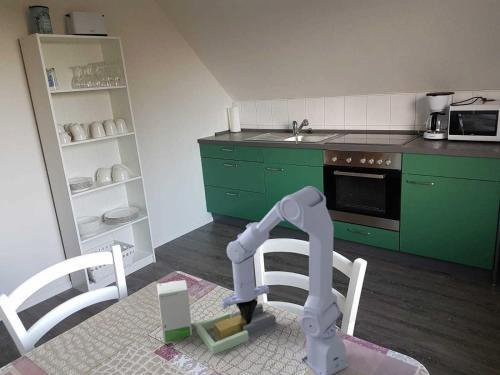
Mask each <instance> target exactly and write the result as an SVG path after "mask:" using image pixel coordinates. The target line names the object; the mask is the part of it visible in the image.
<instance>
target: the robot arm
mask: <svg viewBox="0 0 500 375" xmlns="http://www.w3.org/2000/svg"><path fill="white" fill-rule="evenodd" d="M326 205H327V198H326V196H325V195H324V194H323V193H322V192H321V191H320V190H319V189H318V188H316V187H315V186H311V185H309V186H305V187H303V188H302V189H300V190H297V191H296V192H294V193H292V194H287V195H285V196H284V197H282V199H281V200H279V201H277V202H276V204H274V206H273V207H272V208H271V209H270V211H268V213H266V215H265V216H264V217H263V218H262V219H261V220H260V221H259V222H257V221H256V222H250V223H248V224H247V225H246V226H245V228H246V229H245V230H244V231H243V232H242V233H241V232H240V233H239V234H238V235H237V236H236V237H237V238H236V239H235V240H234V241H230V242H229V243H228V244H227V247H226V254H227V257H228V259H229V260H230V261H231V264H232V265H231V266H232V276H233V277H232V278H233V286H234V287H233V288H234V292H233V293H231V294H229V295H228V296H226V297H224V298H222V299H220V301H219V302H220V307H221V309H222V310H226V309H228V307H230V306H234V305H236V307H237V308H238V310H239V311H240V312H241V315H242V317H243V318H244V319H245V320H246V323H247V325H248V324H250V323H251V320H252V315H253V312H254V309H255V307H256V306H257V305H258V300H257V299H256V298H258V297H259V296H261V295H268V294H270V288H269V286H267V285H266V284H263V285H258V286H255V272H254V260H255V254H256V253H257V250H258V249H259V248H260V247H262V245H263V244H265V242H267V241H268V239H269V238H270V231H271V230H273V229H274V227H276V226H277V225H278V224H280V222H285V221H287V222H289V223H291V224H292V225H294V226H295V227H297V228H298V229H300V230H301V231H303V232H304V233H307V234H308V236H309V238H308V239H309V240H308V241H309V242H308V296H307V299H306V301H305V303H304V305H303V312H302V314H301V316H300V317H299V325H300V326H301V329H302V330H303V332H304V333H305V335H306V336H305V339H306V356H305V357H303V358H301V360H302V361H303V362H304V363H305V364H306V365H307V366H309V368H311V369H312V370H313V371H314V373H316V374H317V375H334V374H336V373H337V372H340V371H342V370H344V369H345V368H347V367H349V364H348V363H347V362H346V345H345V343H344V341H343V340H342V339H341V338H340V337H339V335H338V333H337V327H336V324H337V322H336V321H337V319H339V317H340V316H341V308H340V305H339V303H338V295H336V294H335V293H334V292H333V265H334V264H333V263H334V260H333V259H334V257H333V256H334V228H335V227H334V223H333V220H332V218H331V215H330V213H329V211H328V208H327V206H326Z"/></svg>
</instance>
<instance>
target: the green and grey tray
mask: <svg viewBox="0 0 500 375" xmlns="http://www.w3.org/2000/svg"><path fill="white" fill-rule="evenodd" d="M263 306H264V305H263V304H262V303H257V306H256V307H255V309H254V312H253V315H252V320H251V323H250V324H248V325H245V326H243V331H242V332H240V333H237V334H235V335H232V336H230V337H227V338H225V339H222V340H220V339H219V340H218V341H215V340H214V339H213V338H212V337H211V335H210V334H209V333H208V331H209V330H210V329H215V328H214V323H217V322H220V321H223V320H225V319H229V318H232V317H234V316H237V315H239V314H240V315H241V312H240V310H239V311H237V312H234V313H232V314H231V312H229V311H226V312H224V313H221V314H219V315H216V316H213V317H211V318H207V319H205V320H202V321H200V322H197V323H195V324H194V325H195V332H196V333H197V335H198V336H199V338H200V339H201V340H202V341H203V343H204V345H206V347H207V348H208V350H209V351H210V352H211V354H212V355H217V354H219V353H221V352H223V351H225V350H228V349H231V348H233V347H235V346H238V345H240V344H243V343H245V342H247V341H250V340H253V339H255V338H257V337H260V336H263V335H264V334H267V333H269V332H272V331H274V330H277V329H280V326H279V325H278V324H277V317H276V315H275V314H271V315H266V313H264V307H263ZM241 316H242V315H241Z"/></svg>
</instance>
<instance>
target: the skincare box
mask: <svg viewBox="0 0 500 375" xmlns="http://www.w3.org/2000/svg"><path fill="white" fill-rule="evenodd" d="M156 290H157V299H158V307H159V316H160V323H161V324H160V325H161V333H162V339H163V345H169V344H172V343H173V342H172V341H173V340H178V339H182V338H186V337H189V336H190V337H191V336H193V330H192V329H193V328H192V327H193V326H192V319H191V311H190V310H191V308H190V299H189V289H188V284H187V280H186V279H183V280H175V281H168V282H164V283H157V284H156Z"/></svg>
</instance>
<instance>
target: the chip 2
mask: <svg viewBox="0 0 500 375" xmlns="http://www.w3.org/2000/svg"><path fill="white" fill-rule="evenodd" d="M227 320H228V321H229V322H230V323H231V324H232V325H233V330H234V335H235V334H237V333H240V332H242V331H243V326H245V325H247V323H246V320H245V319H244V318H243V317H242V316H241V315H240V314H239V315H237V316H234V317H232V318H229V319H227Z"/></svg>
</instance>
